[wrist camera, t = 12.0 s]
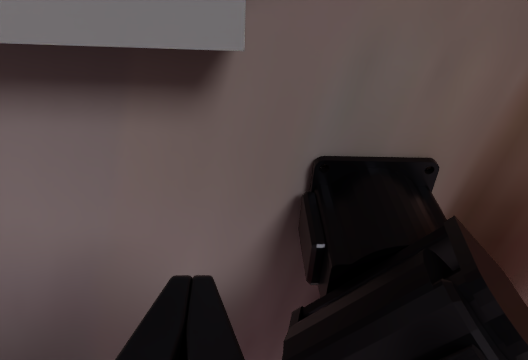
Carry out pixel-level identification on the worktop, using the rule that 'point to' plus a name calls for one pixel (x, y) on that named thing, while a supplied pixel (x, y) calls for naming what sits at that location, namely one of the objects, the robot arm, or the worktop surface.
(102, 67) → the worktop surface
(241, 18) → the switch bank
